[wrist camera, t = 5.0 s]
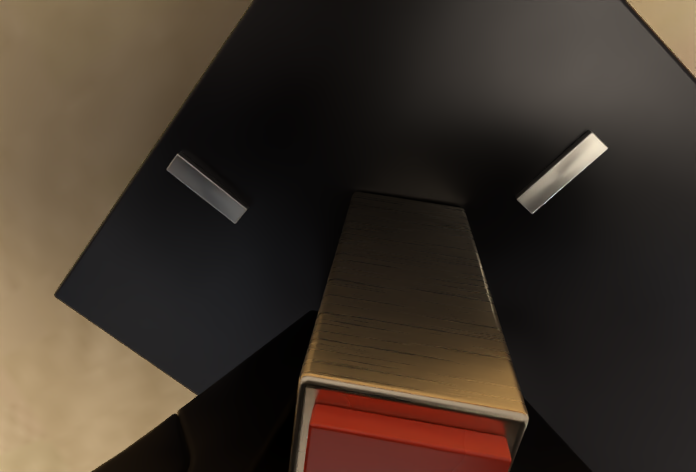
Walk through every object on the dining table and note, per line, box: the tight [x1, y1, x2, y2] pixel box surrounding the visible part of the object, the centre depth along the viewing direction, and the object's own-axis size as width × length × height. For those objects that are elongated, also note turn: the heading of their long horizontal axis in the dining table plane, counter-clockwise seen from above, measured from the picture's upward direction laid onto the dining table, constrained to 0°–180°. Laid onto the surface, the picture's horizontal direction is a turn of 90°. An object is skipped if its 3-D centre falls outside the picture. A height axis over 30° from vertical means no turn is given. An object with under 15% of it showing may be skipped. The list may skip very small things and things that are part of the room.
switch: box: [289, 192, 529, 472], centre depth 7 cm, size 5×2×5 cm, turn 173°
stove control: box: [54, 0, 696, 472], centre depth 10 cm, size 11×12×3 cm
